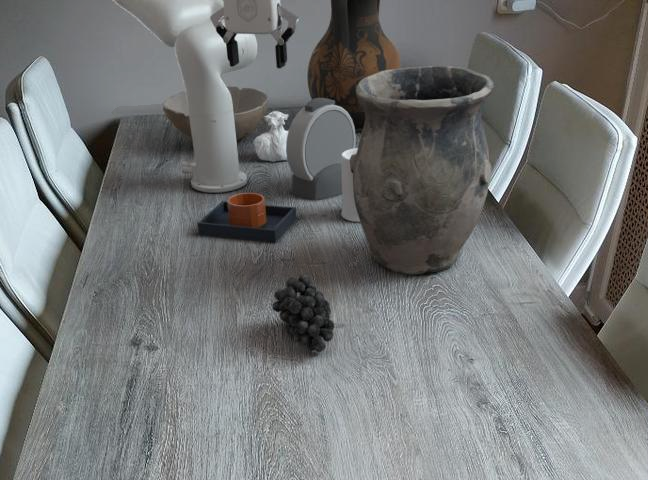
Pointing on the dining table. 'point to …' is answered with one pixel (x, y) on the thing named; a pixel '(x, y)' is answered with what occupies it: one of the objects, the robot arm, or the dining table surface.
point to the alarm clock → (319, 148)
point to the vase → (350, 55)
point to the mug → (348, 188)
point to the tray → (269, 232)
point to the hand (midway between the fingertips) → (257, 65)
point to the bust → (273, 139)
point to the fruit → (305, 313)
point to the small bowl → (247, 210)
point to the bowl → (245, 107)
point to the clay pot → (421, 164)
